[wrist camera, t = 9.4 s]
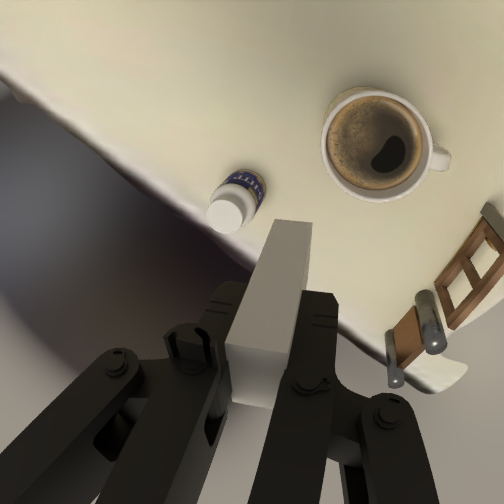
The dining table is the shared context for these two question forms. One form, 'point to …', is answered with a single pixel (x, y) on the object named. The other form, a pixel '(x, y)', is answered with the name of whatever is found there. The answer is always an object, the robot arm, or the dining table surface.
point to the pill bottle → (235, 201)
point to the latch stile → (493, 221)
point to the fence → (416, 333)
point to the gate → (470, 275)
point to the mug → (378, 145)
